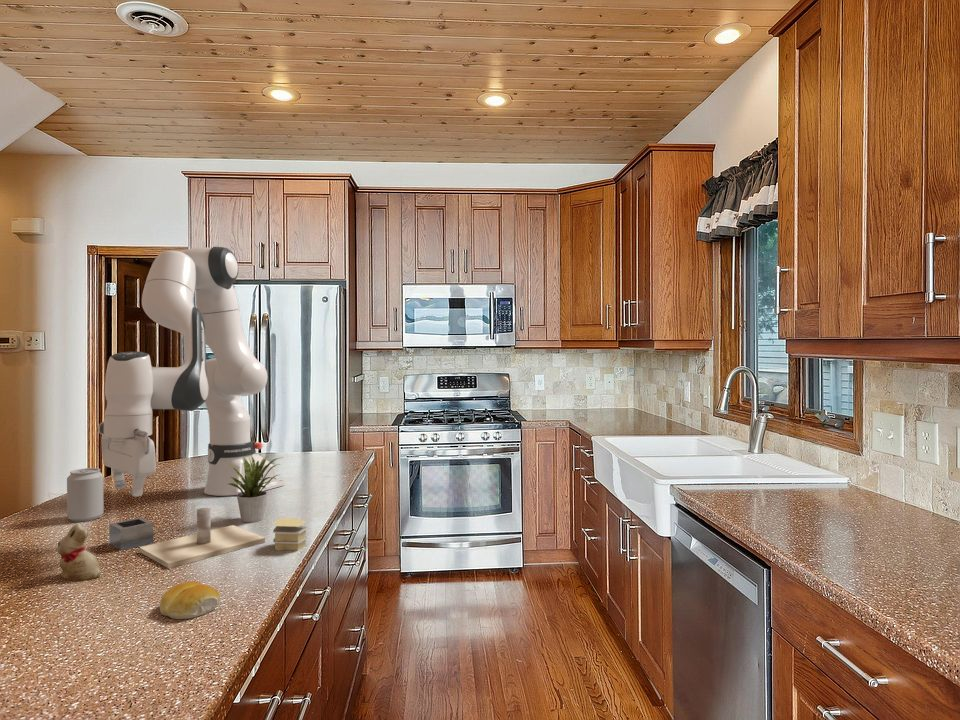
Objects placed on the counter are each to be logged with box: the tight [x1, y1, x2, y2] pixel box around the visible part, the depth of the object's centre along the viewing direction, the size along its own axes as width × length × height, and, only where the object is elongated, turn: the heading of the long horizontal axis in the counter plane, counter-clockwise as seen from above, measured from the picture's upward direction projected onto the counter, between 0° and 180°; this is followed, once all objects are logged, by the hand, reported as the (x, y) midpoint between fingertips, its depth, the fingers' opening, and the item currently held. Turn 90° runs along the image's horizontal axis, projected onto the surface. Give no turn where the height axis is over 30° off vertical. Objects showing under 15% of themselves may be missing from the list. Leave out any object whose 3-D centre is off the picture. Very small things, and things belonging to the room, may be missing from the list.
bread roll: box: [159, 580, 221, 620], centre depth 96 cm, size 8×9×4 cm
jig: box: [139, 507, 266, 569], centre depth 125 cm, size 20×14×8 cm
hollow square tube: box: [108, 516, 155, 551], centre depth 127 cm, size 6×6×4 cm
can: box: [66, 467, 105, 523], centre depth 145 cm, size 8×8×12 cm
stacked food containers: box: [272, 517, 309, 551], centre depth 125 cm, size 10×9×6 cm
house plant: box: [222, 453, 284, 523], centre depth 145 cm, size 14×14×16 cm
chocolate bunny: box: [57, 522, 102, 582], centre depth 109 cm, size 6×8×10 cm
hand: (128, 492), depth 126 cm, fingers open, 8 cm apart
